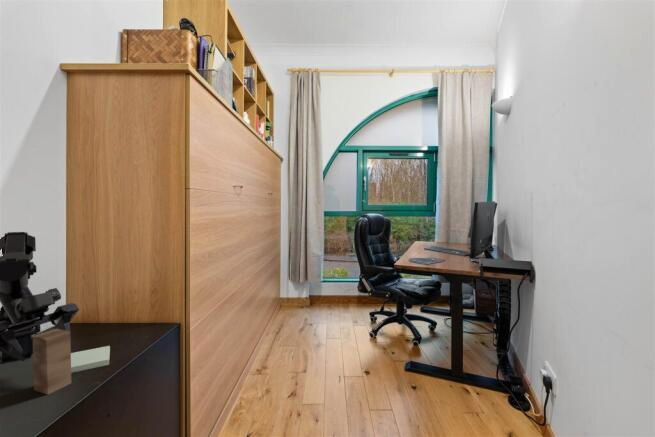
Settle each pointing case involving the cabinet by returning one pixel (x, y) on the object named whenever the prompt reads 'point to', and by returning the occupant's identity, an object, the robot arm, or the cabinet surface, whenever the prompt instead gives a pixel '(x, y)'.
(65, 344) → the walnut block
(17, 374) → the cabinet surface
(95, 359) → the sage board
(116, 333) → the cabinet surface
